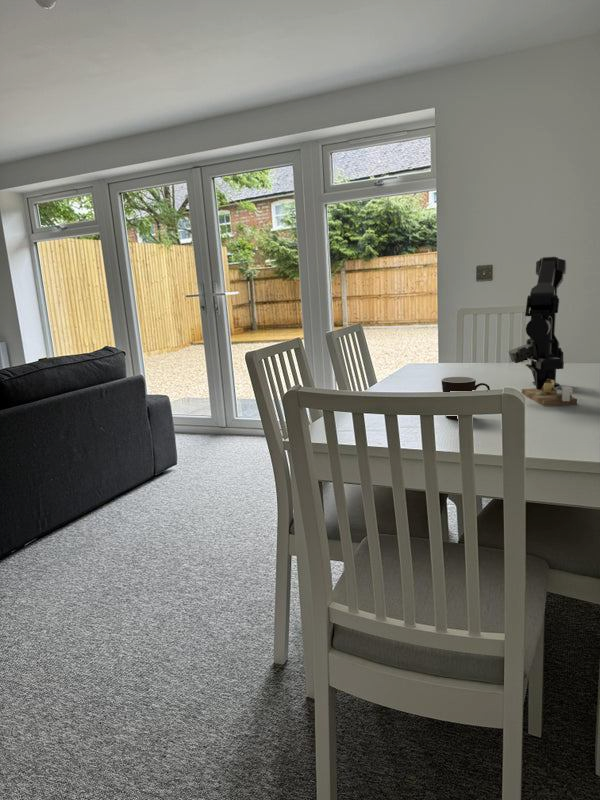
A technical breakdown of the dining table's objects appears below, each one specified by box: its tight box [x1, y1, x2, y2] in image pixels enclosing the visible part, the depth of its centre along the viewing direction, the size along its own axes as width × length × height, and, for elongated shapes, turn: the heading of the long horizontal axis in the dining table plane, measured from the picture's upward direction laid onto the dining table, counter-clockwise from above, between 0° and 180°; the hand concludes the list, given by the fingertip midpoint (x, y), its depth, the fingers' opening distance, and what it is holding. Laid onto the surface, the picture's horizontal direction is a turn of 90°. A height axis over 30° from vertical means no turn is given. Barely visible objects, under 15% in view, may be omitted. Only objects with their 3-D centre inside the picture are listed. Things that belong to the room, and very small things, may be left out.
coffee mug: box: [440, 376, 491, 421], centre depth 148 cm, size 12×9×10 cm
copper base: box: [521, 387, 578, 407], centre depth 165 cm, size 17×9×2 cm, turn 179°
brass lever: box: [542, 379, 555, 393], centre depth 169 cm, size 8×4×3 cm, turn 160°
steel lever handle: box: [556, 385, 573, 401], centre depth 157 cm, size 8×4×3 cm, turn 160°
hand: (538, 389), depth 166 cm, fingers closed
